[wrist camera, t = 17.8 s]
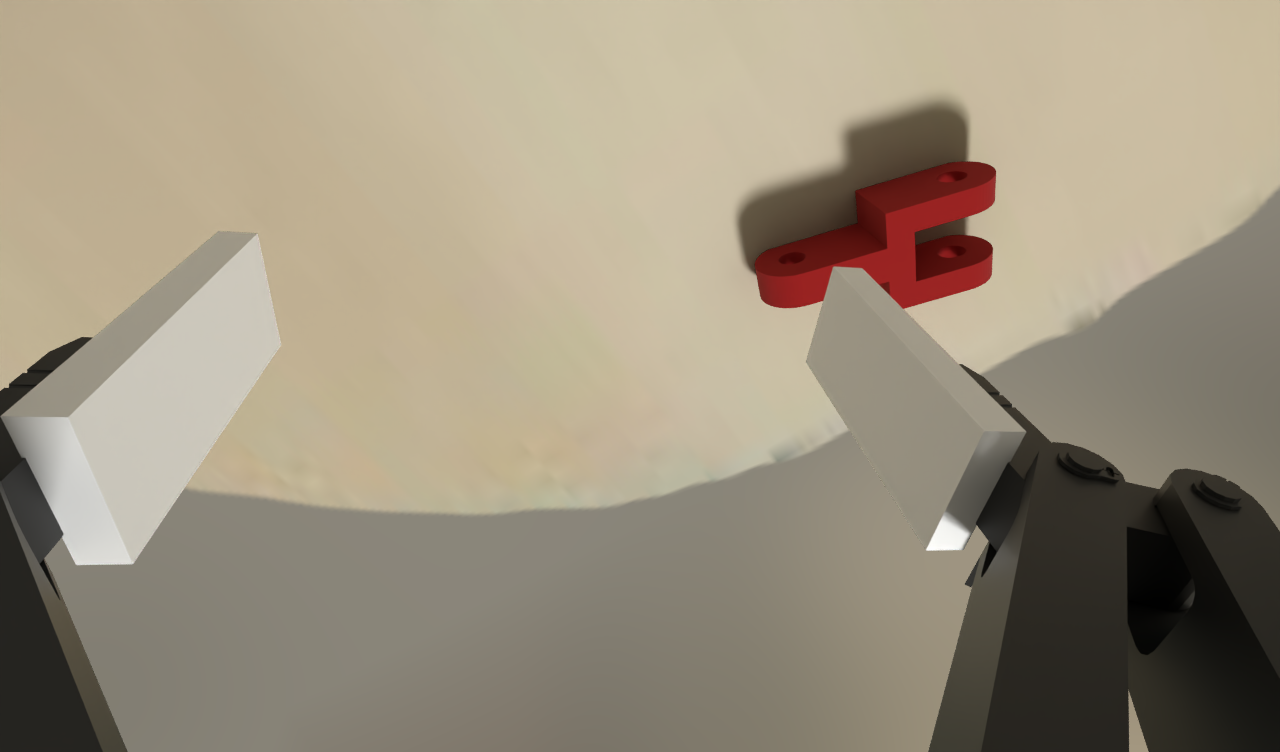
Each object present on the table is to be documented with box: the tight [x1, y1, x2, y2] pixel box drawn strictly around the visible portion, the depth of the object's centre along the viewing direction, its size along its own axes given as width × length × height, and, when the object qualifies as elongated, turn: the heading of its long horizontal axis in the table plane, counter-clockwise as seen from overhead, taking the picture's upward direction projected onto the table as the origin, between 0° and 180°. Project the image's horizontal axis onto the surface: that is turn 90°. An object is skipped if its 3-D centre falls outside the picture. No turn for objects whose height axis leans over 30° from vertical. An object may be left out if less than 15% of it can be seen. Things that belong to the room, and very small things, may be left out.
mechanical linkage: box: [755, 162, 996, 309], centre depth 44 cm, size 16×7×5 cm, turn 105°
